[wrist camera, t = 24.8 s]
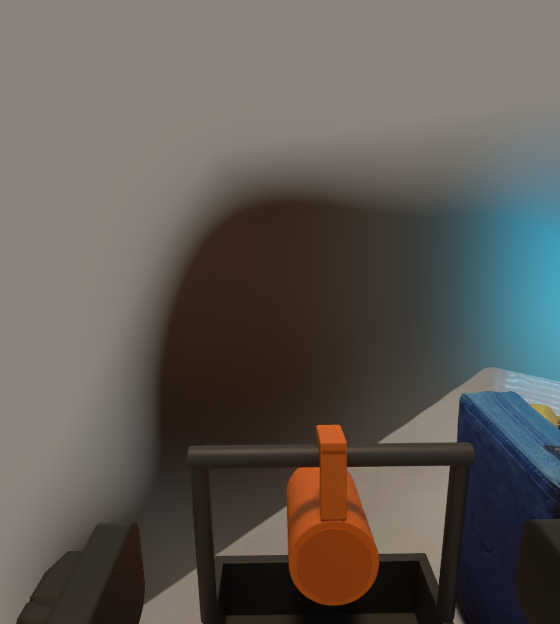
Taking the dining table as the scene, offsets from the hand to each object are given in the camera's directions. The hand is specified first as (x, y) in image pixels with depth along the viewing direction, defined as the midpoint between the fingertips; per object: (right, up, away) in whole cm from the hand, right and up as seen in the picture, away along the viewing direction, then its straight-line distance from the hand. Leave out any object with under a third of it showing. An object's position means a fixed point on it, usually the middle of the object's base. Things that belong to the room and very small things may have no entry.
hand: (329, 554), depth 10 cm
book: (+17, -22, +27) cm, 38 cm away
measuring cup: (+2, -7, +28) cm, 29 cm away
